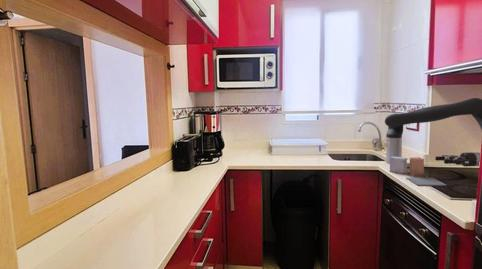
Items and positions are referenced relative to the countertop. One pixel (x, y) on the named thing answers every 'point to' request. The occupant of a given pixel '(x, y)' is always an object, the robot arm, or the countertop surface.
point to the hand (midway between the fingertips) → (439, 160)
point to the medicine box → (398, 164)
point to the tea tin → (416, 167)
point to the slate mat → (426, 182)
